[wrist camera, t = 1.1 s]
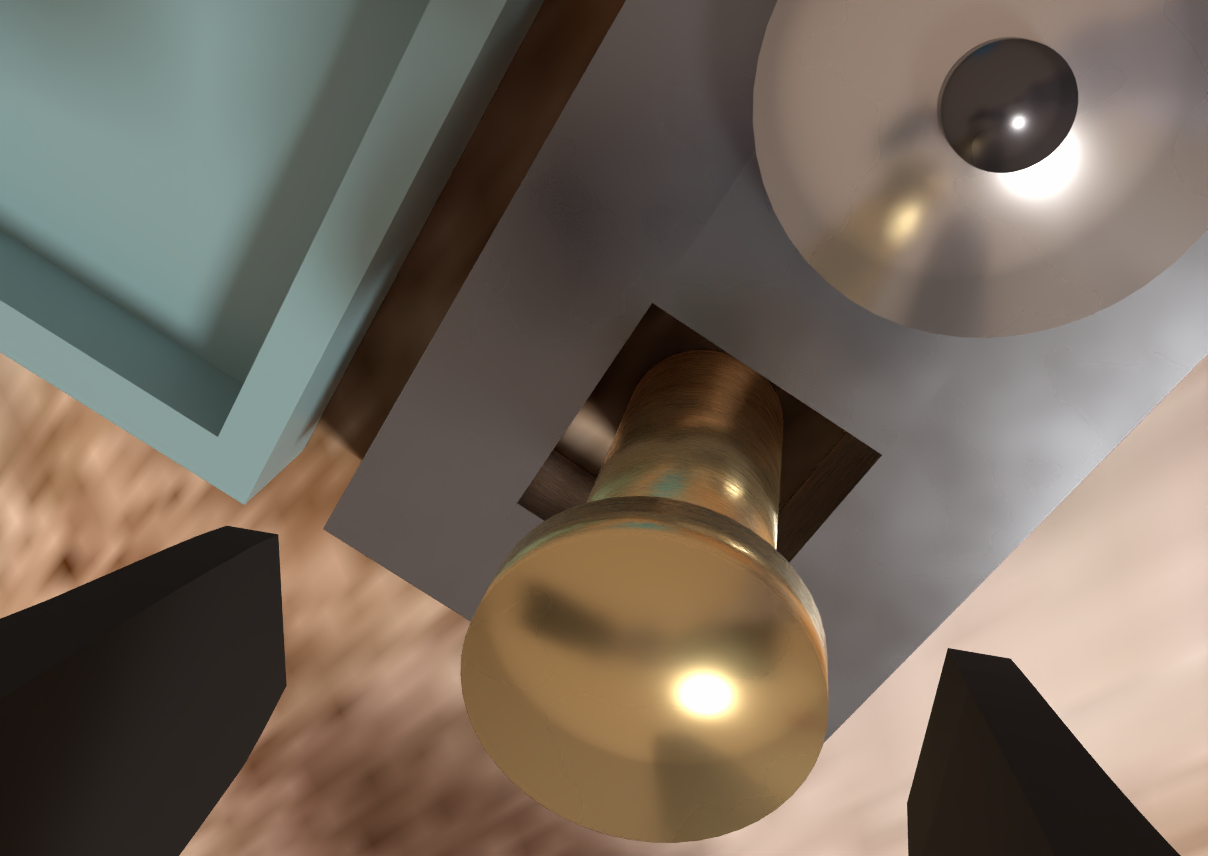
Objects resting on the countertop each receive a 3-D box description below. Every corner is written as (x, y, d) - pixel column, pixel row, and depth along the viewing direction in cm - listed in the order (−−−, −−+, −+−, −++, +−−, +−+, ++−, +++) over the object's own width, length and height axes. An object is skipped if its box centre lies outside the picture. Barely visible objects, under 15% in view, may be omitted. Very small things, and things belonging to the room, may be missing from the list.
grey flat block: (1414, 29, 15) (1617, 46, 12) (767, 721, 22) (758, 876, 19) (863, -370, 15) (883, -495, 11) (373, 471, 22) (278, 578, 18)
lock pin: (869, 399, 19) (909, 678, 12) (733, 562, 21) (690, 896, 13) (672, 267, 19) (577, 464, 11) (552, 445, 21) (401, 718, 13)
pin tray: (564, -37, 17) (527, -39, 15) (302, 450, 22) (244, 505, 20) (-18, -434, 16) (-150, -501, 14) (-160, 158, 21) (-277, 179, 19)
